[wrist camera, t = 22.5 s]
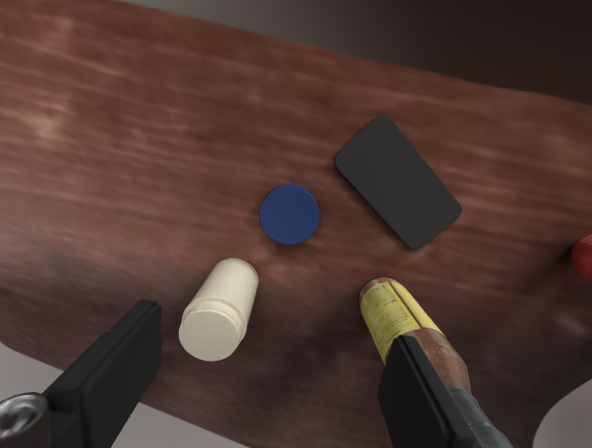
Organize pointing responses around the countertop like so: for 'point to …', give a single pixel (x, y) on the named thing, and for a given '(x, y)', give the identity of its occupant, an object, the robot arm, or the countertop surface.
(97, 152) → the countertop surface
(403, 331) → the sauce bottle
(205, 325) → the mayonnaise jar
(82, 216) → the countertop surface
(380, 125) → the phone
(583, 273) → the onion
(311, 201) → the jar lid
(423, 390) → the robot arm
